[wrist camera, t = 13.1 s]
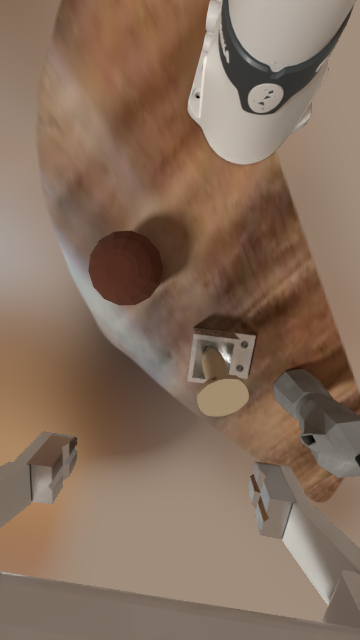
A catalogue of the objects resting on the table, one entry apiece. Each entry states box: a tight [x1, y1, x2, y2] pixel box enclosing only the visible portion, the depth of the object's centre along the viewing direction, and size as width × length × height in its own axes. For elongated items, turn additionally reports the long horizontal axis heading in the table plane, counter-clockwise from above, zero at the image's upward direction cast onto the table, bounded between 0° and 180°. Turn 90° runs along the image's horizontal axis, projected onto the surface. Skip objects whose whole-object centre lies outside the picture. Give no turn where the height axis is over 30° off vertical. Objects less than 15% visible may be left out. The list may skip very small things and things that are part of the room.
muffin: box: [89, 231, 163, 305], centre depth 33 cm, size 12×11×10 cm
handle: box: [197, 346, 249, 416], centre depth 33 cm, size 5×6×15 cm
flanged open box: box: [187, 327, 256, 383], centre depth 38 cm, size 9×12×5 cm
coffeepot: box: [274, 369, 360, 478], centre depth 33 cm, size 15×9×18 cm, turn 78°
